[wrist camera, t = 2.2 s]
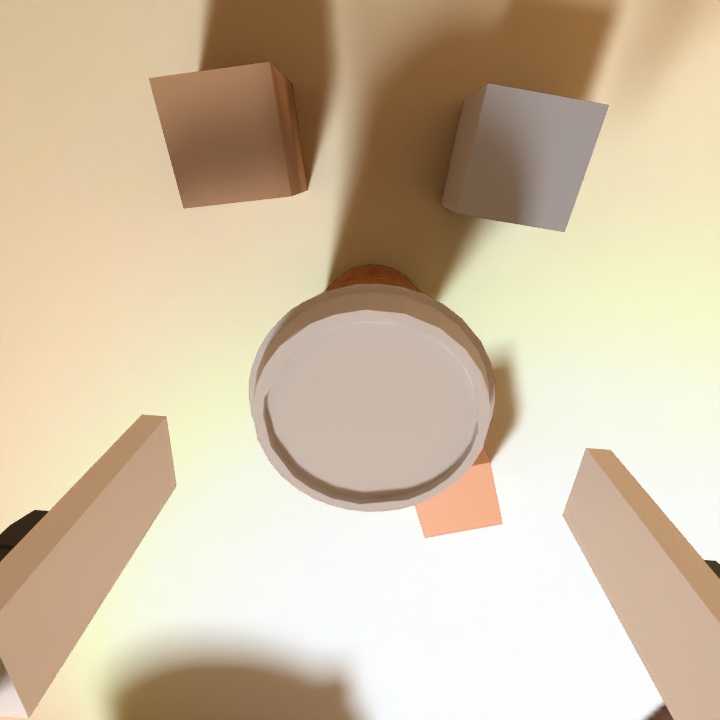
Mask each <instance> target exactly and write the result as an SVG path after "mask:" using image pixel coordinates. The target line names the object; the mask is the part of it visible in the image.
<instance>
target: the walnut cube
mask: <svg viewBox="0 0 720 720" xmlns="http://www.w3.org/2000/svg"><path fill="white" fill-rule="evenodd" d="M149 81H150V84H151V88H152V92H153V96H154V99H155V103H156V107H157V111H158V114H159V118H160V122H161V125H162V129H163V133H164V137H165V140H166V144H167V148H168V152H169V155H170V159H171V163H172V167H173V170H174V174H175V178H176V182H177V185H178V189H179V193H180V197H181V200H182V204H183V208H192V207H201V206H210V205H218V204H227V203H236V202H245V201H254V200H262V199H271V198H280V197H289V196H293V195H296V194H299V193H301V192H304V191H307V190H308V189H307V182H306V175H305V168H304V162H303V155H302V148H301V141H300V135H299V128H298V121H297V114H296V107H295V101H294V94H293V87H292V83H291V82H290V81H289V80H288V79H287V78H286V77H285V76H284V75H283V74H282V73H281V72H280V71H279V70H278V69H277V68H276V67H275V66H274V65H273V64H272V63H271V62H264V63H256V64H249V65H242V66H235V67H227V68H220V69H213V70H206V71H198V72H191V73H184V74H177V75H170V76H162V77H155V78H149Z"/></svg>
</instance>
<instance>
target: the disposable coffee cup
mask: <svg viewBox="0 0 720 720" xmlns="http://www.w3.org/2000/svg"><path fill="white" fill-rule="evenodd" d="M249 400H250V407H251V414H252V417H253V420H254V423H255V428H256V433H257V438H258V441H259V442H260V444H261V446H262V448H263V450H264V452H265V454H266V456H267V458H268V460H269V461H270V462H271V464H272V465H273V466H274V467H275V469H276V470H277V471H278V472H279V473H280V475H281V476H282V477H283V478H285V479H286V480H287V481H288V482H290V483H291V484H292V485H293V486H295V487H296V488H297V489H298V490H300V491H302V492H303V493H305V494H307V495H309V496H310V497H312V498H314V499H316V500H319V501H321V502H324V503H326V504H329V505H333V506H336V507H340V508H344V509H348V510H357V511H366V512H375V511H389V510H397V509H402V508H406V507H409V506H413V505H417V504H419V503H421V502H424V501H426V500H428V499H431V498H433V497H435V496H437V495H438V494H440V493H441V492H443V491H444V490H445V489H447V488H448V487H450V486H451V485H452V484H454V483H455V482H456V481H458V480H459V479H460V478H462V477H463V475H464V474H465V473H466V472H467V471H468V469H469V468H470V467H471V466H472V465H473V463H474V462H475V460H476V458H477V457H478V455H479V453H480V452H481V450H482V448H483V446H484V442H485V439H486V435H487V432H488V429H489V425H490V421H491V419H492V415H493V409H494V404H495V380H494V376H493V371H492V367H491V363H490V360H489V358H488V356H487V354H486V352H485V349H484V347H483V345H482V343H481V341H480V340H479V339H478V337H477V336H476V335H475V334H474V333H473V331H472V330H471V329H470V328H469V327H468V325H467V324H466V323H465V322H464V321H463V319H462V318H461V317H459V316H458V315H457V314H455V313H454V312H453V311H451V310H450V309H449V308H448V307H446V306H445V305H443V304H442V303H440V302H438V301H436V300H434V299H432V298H431V297H429V296H427V295H425V294H422V293H421V292H420V291H419V290H418V289H417V288H416V287H415V286H414V285H413V284H412V283H411V282H410V281H409V280H408V279H407V278H406V277H405V276H404V275H402V274H401V273H399V272H397V271H396V270H394V269H391V268H389V267H384V266H379V265H366V266H361V267H356V268H354V269H351V270H349V271H347V272H346V273H344V274H343V275H341V276H339V277H338V278H337V279H336V281H335V282H333V283H332V284H331V285H330V286H329V287H328V288H327V289H326V290H325V291H324V292H323V293H321V294H319V295H317V296H315V297H313V298H311V299H309V300H307V301H305V302H303V303H301V304H300V305H298V306H296V307H295V308H293V309H292V310H291V311H289V312H288V313H287V314H286V315H285V316H284V317H283V318H282V319H281V320H280V321H279V322H278V323H277V324H276V325H275V326H274V327H273V329H272V330H271V331H270V332H269V333H268V335H267V336H266V338H265V340H264V341H263V343H262V344H261V346H260V348H259V349H258V352H257V355H256V358H255V360H254V363H253V366H252V369H251V374H250V380H249Z"/></svg>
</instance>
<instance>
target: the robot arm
mask: <svg viewBox="0 0 720 720" xmlns="http://www.w3.org/2000/svg"><path fill="white" fill-rule="evenodd" d="M175 487H176V479H175V472H174V465H173V458H172V451H171V445H170V438H169V431H168V424H167V417H166V416H153V415H141V416H140V417H139V418H138V419H137V420H136V421H135V422H134V424H133V425H132V426H131V427H130V428H129V429H128V430H127V431H126V432H125V433H124V434H123V435H122V436H121V437H120V438H119V439H118V440H117V441H116V442H115V443H114V444H113V445H112V446H111V447H110V448H109V449H108V451H107V452H106V453H105V454H104V455H103V456H102V457H101V458H100V459H99V460H98V461H97V462H96V463H95V464H94V465H93V466H92V467H91V468H90V469H89V470H88V471H87V472H86V473H85V474H84V475H83V476H82V478H81V479H80V480H79V481H78V482H77V483H76V484H75V485H74V486H73V487H72V488H71V489H70V490H69V491H68V492H67V493H66V494H65V495H64V496H63V497H62V498H61V499H60V500H59V501H58V502H57V503H56V505H55V506H54V507H53V508H52V509H51V510H50V511H40V510H34V511H32V512H31V513H29V514H27V515H26V516H24V517H23V518H21V519H19V520H18V521H16V522H15V523H13V524H11V525H10V526H9V527H8V528H7V529H6V530H5V531H4V532H2V533H1V534H0V716H6V717H18V718H29V717H30V716H31V714H32V713H33V711H34V709H35V708H36V706H37V705H38V703H39V702H40V700H41V698H42V697H43V695H44V694H45V692H46V691H47V689H48V687H49V686H50V684H51V683H52V681H53V679H54V678H55V676H56V675H57V673H58V672H59V670H60V668H61V667H62V665H63V664H64V662H65V661H66V659H67V657H68V656H69V654H70V653H71V651H72V650H73V648H74V646H75V645H76V643H77V642H78V640H79V639H80V637H81V635H82V634H83V632H84V631H85V629H86V628H87V626H88V624H89V623H90V621H91V620H92V618H93V616H94V615H95V613H96V612H97V610H98V609H99V607H100V605H101V604H102V602H103V601H104V599H105V598H106V596H107V594H108V593H109V591H110V590H111V588H112V587H113V585H114V583H115V582H116V580H117V579H118V577H119V576H120V574H121V572H122V571H123V569H124V568H125V566H126V565H127V563H128V561H129V560H130V558H131V557H132V555H133V553H134V552H135V550H136V549H137V547H138V546H139V544H140V542H141V541H142V539H143V538H144V536H145V535H146V533H147V531H148V530H149V528H150V527H151V525H152V524H153V522H154V520H155V519H156V517H157V516H158V514H159V513H160V511H161V509H162V508H163V506H164V505H165V503H166V502H167V500H168V498H169V497H170V495H171V494H172V492H173V490H174V489H175ZM563 517H564V519H565V521H566V522H567V524H568V526H569V528H570V530H571V532H572V533H573V535H574V537H575V539H576V541H577V543H578V544H579V546H580V548H581V550H582V552H583V554H584V555H585V557H586V559H587V561H588V563H589V565H590V566H591V568H592V570H593V572H594V574H595V576H596V578H597V579H598V581H599V583H600V585H601V587H602V589H603V590H604V592H605V594H606V596H607V598H608V600H609V601H610V603H611V605H612V607H613V609H614V611H615V612H616V614H617V616H618V618H619V620H620V622H621V623H622V625H623V627H624V629H625V631H626V633H627V634H628V636H629V638H630V640H631V642H632V644H633V645H634V647H635V649H636V651H637V653H638V655H639V656H640V658H641V660H642V662H643V664H644V666H645V667H646V669H647V671H648V673H649V675H650V677H651V679H652V680H653V682H654V684H655V686H656V688H657V690H658V691H659V693H660V695H661V697H662V699H663V701H664V702H665V704H666V706H667V708H668V710H669V712H670V713H671V715H672V717H673V719H674V720H720V564H719V563H717V562H716V561H710V560H703V559H702V558H701V556H700V555H699V554H698V553H697V552H696V550H695V549H694V548H693V547H692V546H691V545H690V543H689V542H688V541H687V540H686V539H685V537H684V536H683V535H682V534H681V533H680V531H679V530H678V529H677V528H676V527H675V526H674V524H673V523H672V522H671V521H670V520H669V518H668V517H667V516H666V515H665V514H664V513H663V511H662V510H661V509H660V508H659V507H658V505H657V504H656V503H655V502H654V501H653V500H652V498H651V497H650V496H649V495H648V494H647V492H646V491H645V490H644V489H643V488H642V487H641V485H640V484H639V483H638V482H637V481H636V479H635V478H634V477H633V476H632V475H631V474H630V472H629V471H628V470H627V469H626V468H625V466H624V465H623V464H622V463H621V462H620V460H619V459H618V458H617V457H616V456H615V455H614V453H613V452H612V451H611V450H603V449H590V448H586V450H585V453H584V456H583V459H582V461H581V464H580V467H579V470H578V473H577V476H576V479H575V481H574V484H573V487H572V490H571V493H570V496H569V498H568V501H567V504H566V507H565V510H564V513H563Z"/></svg>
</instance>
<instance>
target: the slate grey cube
mask: <svg viewBox="0 0 720 720" xmlns="http://www.w3.org/2000/svg"><path fill="white" fill-rule="evenodd" d="M608 107H609V105H606V104H601V103H595V102H590V101H584V100H579V99H573V98H568V97H562V96H557V95H551V94H546V93H540V92H534V91H529V90H523V89H518V88H512V87H507V86H501V85H496V84H490V83H487V84H486V85H485V86H483V87H482V88H480V89H479V90H478V91H476V92H475V93H473V94H472V95H471V96H469V97H468V98H467V99H465V100H464V102H463V106H462V111H461V115H460V120H459V124H458V129H457V133H456V138H455V142H454V147H453V151H452V156H451V160H450V165H449V169H448V174H447V178H446V183H445V187H444V192H443V196H442V201H441V205H442V206H444V207H446V208H447V209H449V210H451V211H453V212H454V213H456V214H460V215H466V216H472V217H478V218H484V219H490V220H496V221H502V222H508V223H514V224H520V225H526V226H532V227H538V228H544V229H550V230H556V231H562V232H565V229H566V227H567V224H568V221H569V218H570V215H571V212H572V209H573V207H574V204H575V201H576V198H577V195H578V192H579V190H580V187H581V184H582V181H583V178H584V175H585V172H586V170H587V167H588V164H589V161H590V158H591V155H592V152H593V150H594V147H595V144H596V141H597V138H598V135H599V132H600V130H601V127H602V124H603V121H604V118H605V115H606V113H607V110H608Z"/></svg>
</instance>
